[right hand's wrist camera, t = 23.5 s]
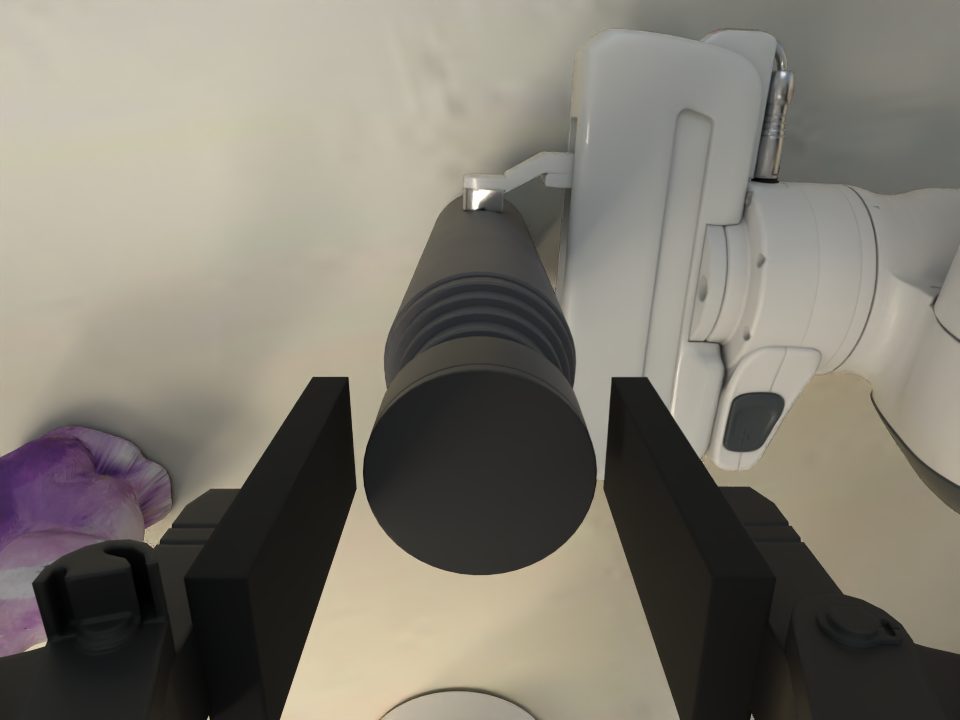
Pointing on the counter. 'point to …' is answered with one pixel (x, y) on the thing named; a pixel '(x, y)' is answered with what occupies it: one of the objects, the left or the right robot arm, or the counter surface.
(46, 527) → the figurine
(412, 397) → the cap
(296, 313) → the counter surface
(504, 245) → the bottle
